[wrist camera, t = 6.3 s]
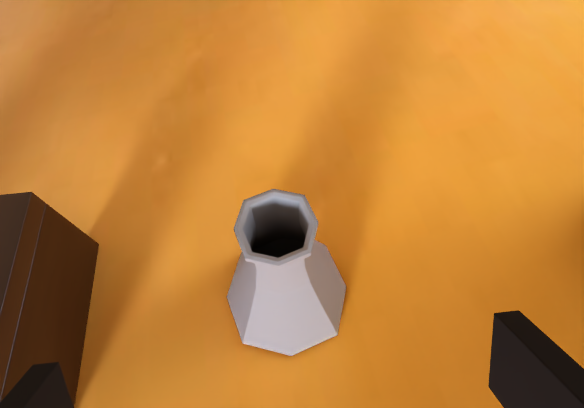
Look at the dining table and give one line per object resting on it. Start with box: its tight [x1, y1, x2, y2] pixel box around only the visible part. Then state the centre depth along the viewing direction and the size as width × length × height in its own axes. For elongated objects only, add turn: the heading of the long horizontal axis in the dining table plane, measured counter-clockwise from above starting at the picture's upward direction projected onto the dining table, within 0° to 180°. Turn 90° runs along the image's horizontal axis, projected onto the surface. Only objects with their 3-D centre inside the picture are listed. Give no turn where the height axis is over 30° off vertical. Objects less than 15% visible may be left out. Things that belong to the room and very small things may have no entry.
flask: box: [227, 189, 346, 356], centre depth 19 cm, size 7×7×10 cm
